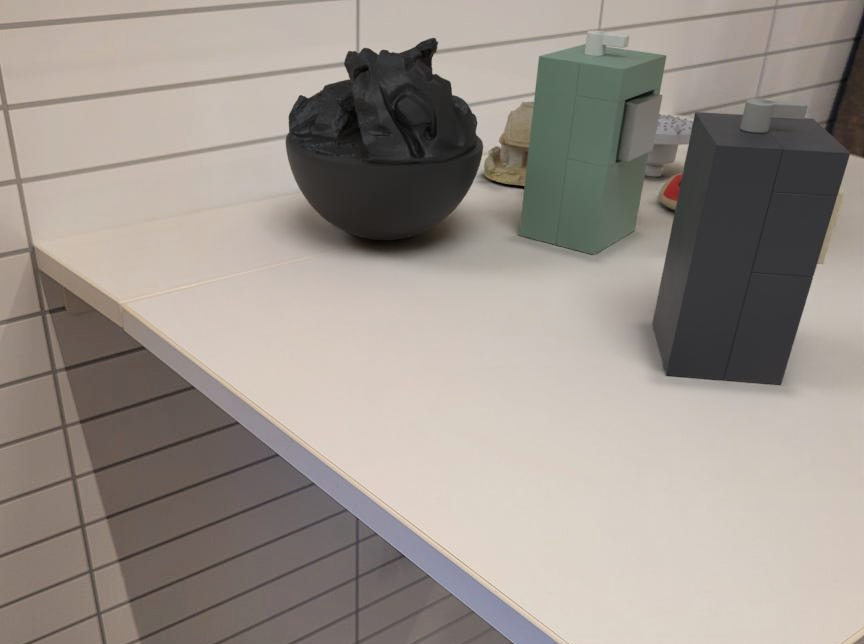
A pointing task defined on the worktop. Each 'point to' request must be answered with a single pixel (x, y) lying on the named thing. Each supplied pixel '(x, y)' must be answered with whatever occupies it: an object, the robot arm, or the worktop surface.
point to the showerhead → (667, 142)
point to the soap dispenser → (585, 144)
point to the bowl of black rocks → (384, 145)
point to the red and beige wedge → (670, 192)
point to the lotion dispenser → (745, 241)
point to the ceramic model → (512, 148)
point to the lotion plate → (831, 227)
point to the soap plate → (638, 126)
